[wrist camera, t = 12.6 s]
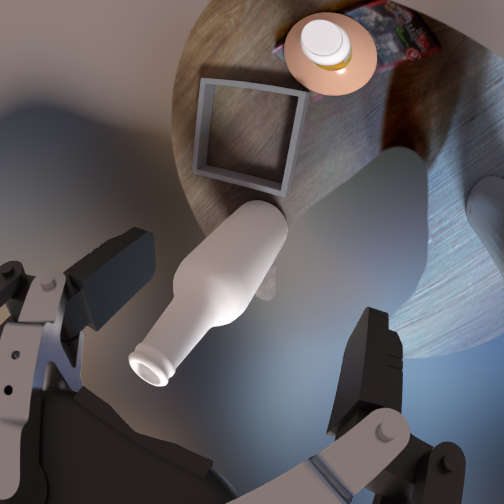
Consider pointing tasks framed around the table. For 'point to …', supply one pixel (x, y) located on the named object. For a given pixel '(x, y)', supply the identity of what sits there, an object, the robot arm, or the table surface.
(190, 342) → the alcohol
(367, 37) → the plate
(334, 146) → the table surface
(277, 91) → the bin
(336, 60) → the supplement bottle
